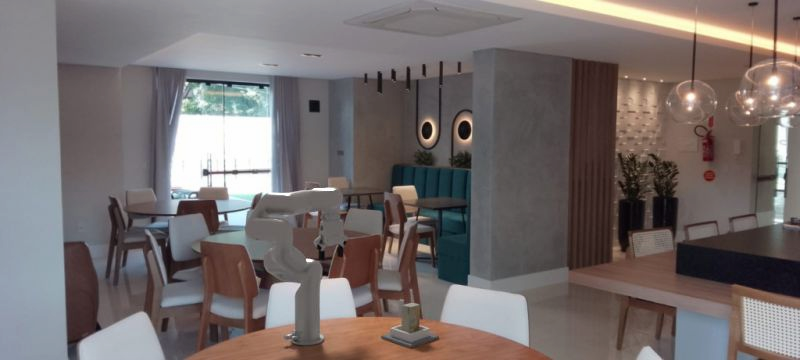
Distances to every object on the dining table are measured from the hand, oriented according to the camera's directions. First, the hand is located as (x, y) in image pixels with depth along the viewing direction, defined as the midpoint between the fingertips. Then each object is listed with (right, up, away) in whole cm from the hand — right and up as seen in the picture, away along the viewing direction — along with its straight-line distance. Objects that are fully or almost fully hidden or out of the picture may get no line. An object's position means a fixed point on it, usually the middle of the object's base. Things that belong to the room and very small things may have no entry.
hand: (331, 258), depth 239 cm
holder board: (+33, -29, -14) cm, 46 cm away
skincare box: (+33, -29, -13) cm, 45 cm away
